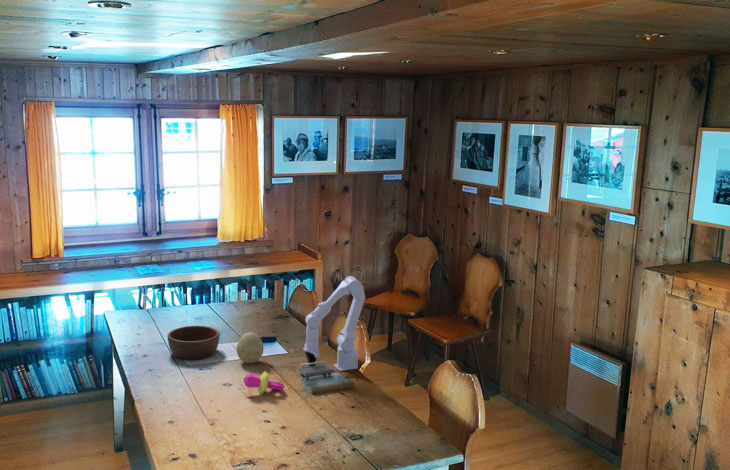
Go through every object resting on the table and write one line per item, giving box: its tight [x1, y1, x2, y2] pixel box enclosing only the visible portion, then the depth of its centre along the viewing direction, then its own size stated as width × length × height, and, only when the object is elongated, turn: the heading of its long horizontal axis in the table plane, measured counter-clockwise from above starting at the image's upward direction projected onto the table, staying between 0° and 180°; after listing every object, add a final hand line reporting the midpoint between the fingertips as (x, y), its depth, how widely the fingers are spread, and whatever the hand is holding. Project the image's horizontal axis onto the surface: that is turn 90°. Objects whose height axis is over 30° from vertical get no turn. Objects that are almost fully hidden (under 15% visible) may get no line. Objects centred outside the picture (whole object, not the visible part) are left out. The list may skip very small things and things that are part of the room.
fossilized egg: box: [236, 331, 264, 364], centre depth 326 cm, size 13×13×15 cm
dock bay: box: [296, 372, 355, 395], centre depth 306 cm, size 20×18×3 cm
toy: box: [243, 370, 285, 396], centre depth 293 cm, size 10×18×10 cm, turn 106°
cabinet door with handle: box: [297, 360, 335, 378], centre depth 315 cm, size 14×9×4 cm, turn 116°
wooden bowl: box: [166, 325, 221, 361], centre depth 336 cm, size 25×25×10 cm
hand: (311, 366), depth 320 cm, fingers closed
